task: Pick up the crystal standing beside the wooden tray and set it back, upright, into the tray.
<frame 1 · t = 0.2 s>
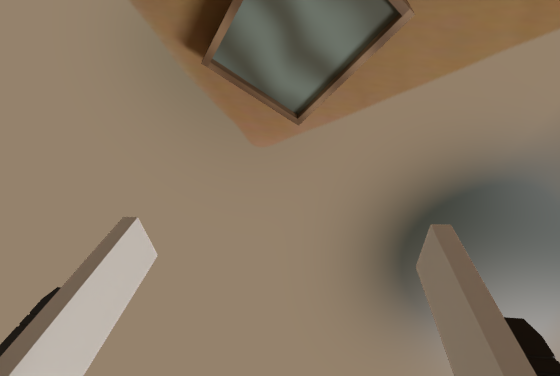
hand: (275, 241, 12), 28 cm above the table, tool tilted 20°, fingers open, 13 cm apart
wooden tray: (298, 25, 30), on the table
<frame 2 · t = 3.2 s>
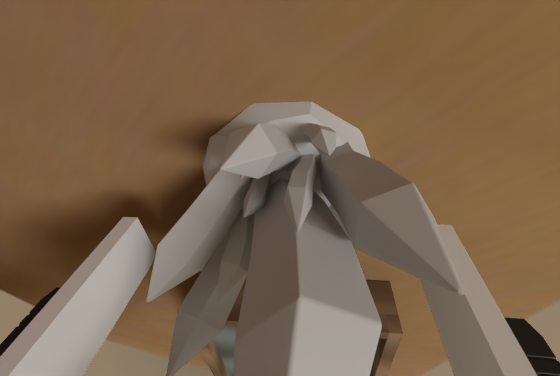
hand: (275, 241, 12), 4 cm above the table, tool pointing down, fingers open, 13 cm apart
wooden tray: (295, 332, 25), on the table
crystal: (282, 187, 16), on the table, touching gripper
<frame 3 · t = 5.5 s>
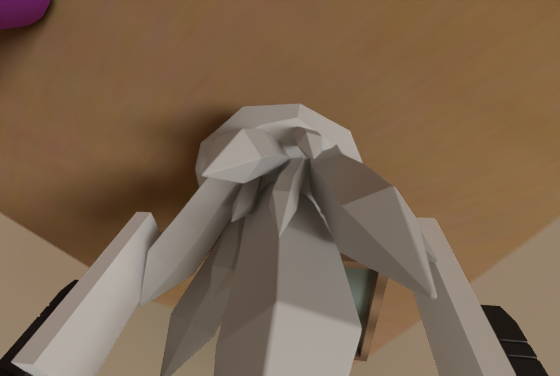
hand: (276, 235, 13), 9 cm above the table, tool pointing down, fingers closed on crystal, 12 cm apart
wooden tray: (304, 283, 30), on the table
crystal: (275, 190, 16), point 5 cm above the table, touching gripper
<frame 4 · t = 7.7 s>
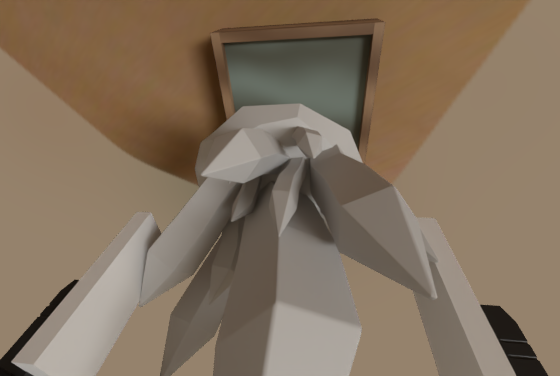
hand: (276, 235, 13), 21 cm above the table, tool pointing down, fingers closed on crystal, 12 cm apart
wooden tray: (298, 114, 30), on the table
crystal: (275, 190, 16), point 17 cm above the table, touching gripper
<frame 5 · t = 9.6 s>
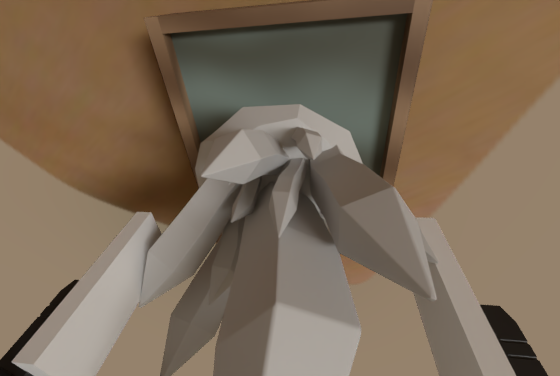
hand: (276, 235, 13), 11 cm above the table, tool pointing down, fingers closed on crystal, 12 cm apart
wooden tray: (292, 135, 21), on the table
crystal: (275, 190, 16), point 7 cm above the table, touching gripper
when the fingers open (8 cm above the table, at t = 11.3 s): crystal drops 1 cm, resting on wooden tray.
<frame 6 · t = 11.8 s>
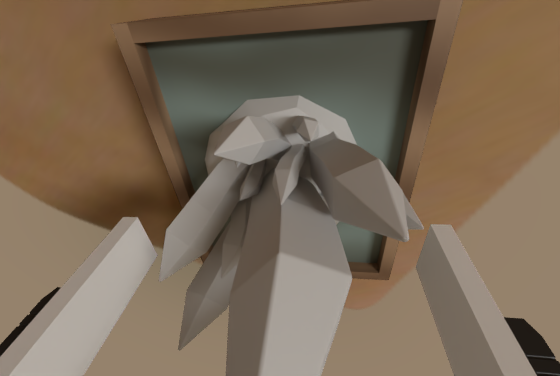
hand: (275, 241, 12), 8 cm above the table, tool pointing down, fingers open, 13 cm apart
wooden tray: (290, 155, 19), on the table
crystal: (278, 177, 17), point 3 cm above the table, touching wooden tray
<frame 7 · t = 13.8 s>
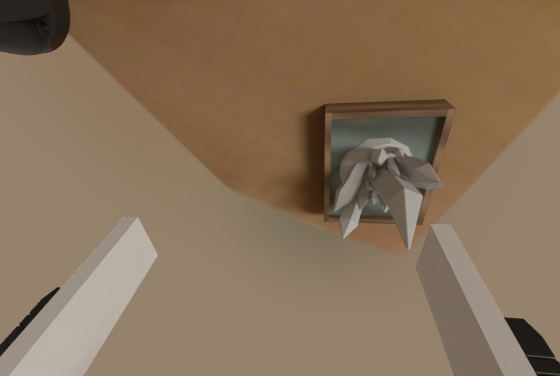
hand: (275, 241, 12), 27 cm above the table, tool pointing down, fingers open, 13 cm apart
wooden tray: (374, 161, 39), on the table
crystal: (373, 172, 37), point 3 cm above the table, touching wooden tray
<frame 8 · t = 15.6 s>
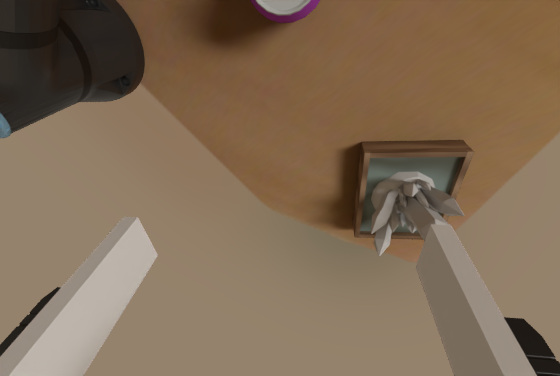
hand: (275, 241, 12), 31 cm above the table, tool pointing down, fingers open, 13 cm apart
wooden tray: (400, 187, 46), on the table
crystal: (400, 197, 44), point 3 cm above the table, touching wooden tray
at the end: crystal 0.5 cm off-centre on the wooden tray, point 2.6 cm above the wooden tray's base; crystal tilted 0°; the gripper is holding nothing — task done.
